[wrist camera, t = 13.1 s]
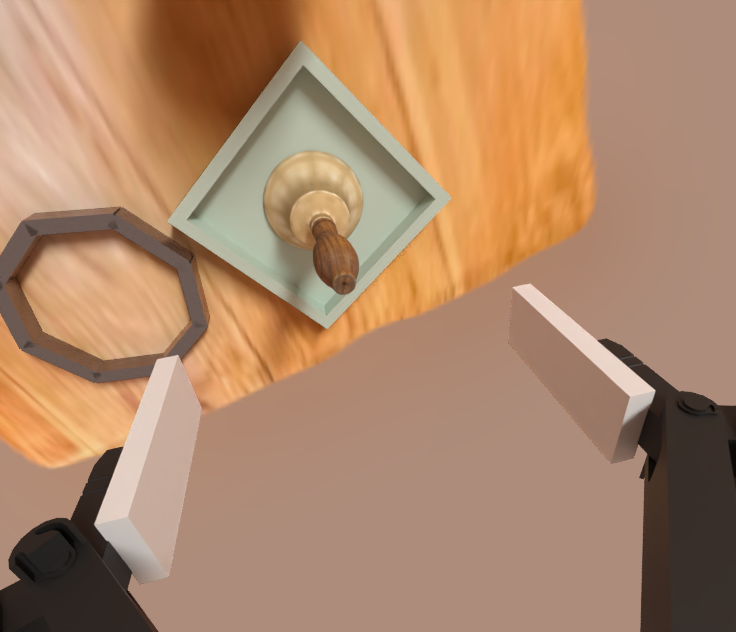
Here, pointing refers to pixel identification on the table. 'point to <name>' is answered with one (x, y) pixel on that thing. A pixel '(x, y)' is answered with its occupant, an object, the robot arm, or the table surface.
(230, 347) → the table surface
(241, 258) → the green square tray
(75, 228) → the collar
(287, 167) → the hand bell
